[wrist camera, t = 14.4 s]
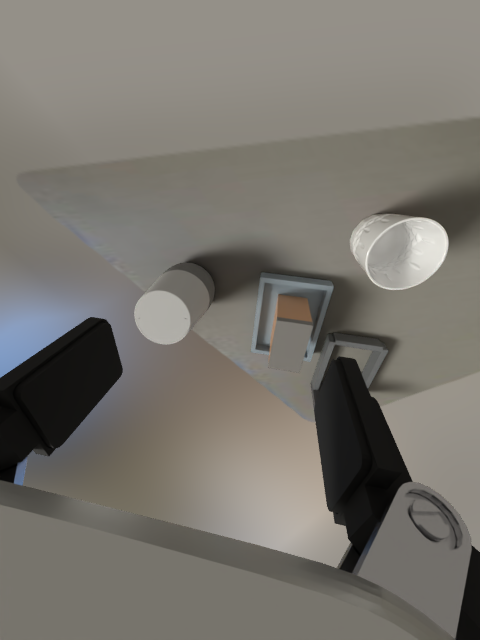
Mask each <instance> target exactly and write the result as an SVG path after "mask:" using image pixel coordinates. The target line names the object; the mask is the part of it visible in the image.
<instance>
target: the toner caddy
mask: <svg viewBox="0 0 480 640" xmlns="http://www.w3.org/2000/svg"><path fill="white" fill-rule="evenodd" d="M312 328H313V322H312V318H311V313H310V308H309V304H308V299H307V298H303V297H295V296H288V295H281V294H278V298H277V304H276V309H275V315H274V321H273V326H272V332H271V339H270V351H269V363H268V368H272V369H278V370H284V371H290V372H296V373H300V370H301V366H302V363H303V359H304V356H305V352H306V349H307V345H308V342H309V339H310V335H311V332H312Z"/></svg>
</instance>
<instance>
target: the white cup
mask: <svg viewBox="0 0 480 640" xmlns="http://www.w3.org/2000/svg"><path fill="white" fill-rule="evenodd" d="M448 247H449V240H448V235H447V233H446V231H445V229H444V228H443V227H442V226H441V225H440V224H439V223H438V222H436V221H434V220H432V219H428V218H423V217H415V216H408V215H400V214H375V215H371V216H370V217H368V218H366V219H364V220H362V221H361V222H360V223H359V224H358V226H357V227H356V228H355V229H354V230H353V233H352V236H351V239H350V248H351V252H352V253H353V254H354V256H355V258H356V260H357V262H358V263H359V265H360V266H361V268H362V269H363V270H364V271H365V273H366V274H367V275H368V277H369V278H370V279H371V281H372V282H373V283H375V284H376V285H378V286H379V287H382V288H385V289H389V290H401V289H407V288H410V287H413V286H416V285H418V284H420V283H422V282H423V281H425V280H427V279H428V278H429V277H431V276H432V275H433V274H434V273H435V272H436V271H437V270H438V269H439V267H440V266H441V265H442V263H443V261H444V259H445V257H446V255H447V252H448Z"/></svg>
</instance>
